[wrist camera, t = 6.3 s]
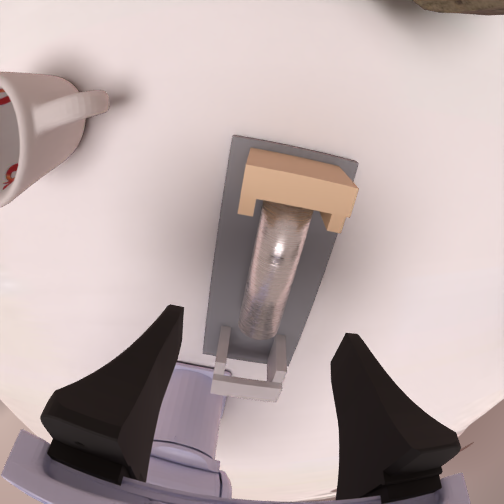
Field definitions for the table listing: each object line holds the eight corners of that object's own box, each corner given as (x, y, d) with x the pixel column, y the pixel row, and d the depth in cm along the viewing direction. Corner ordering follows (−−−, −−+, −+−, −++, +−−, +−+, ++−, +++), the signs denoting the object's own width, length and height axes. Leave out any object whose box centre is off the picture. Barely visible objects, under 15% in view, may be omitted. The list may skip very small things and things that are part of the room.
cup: (130, 41, 15) (59, 25, 8) (143, 153, 19) (82, 192, 12) (16, 86, 16) (-58, 102, 9) (31, 177, 20) (-35, 217, 13)
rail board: (288, 361, 28) (289, 406, 24) (203, 349, 28) (194, 393, 23) (355, 161, 19) (383, 185, 14) (233, 135, 18) (222, 150, 14)
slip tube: (278, 315, 24) (279, 343, 21) (238, 308, 24) (234, 337, 21) (316, 181, 19) (325, 198, 16) (266, 171, 19) (266, 186, 16)
